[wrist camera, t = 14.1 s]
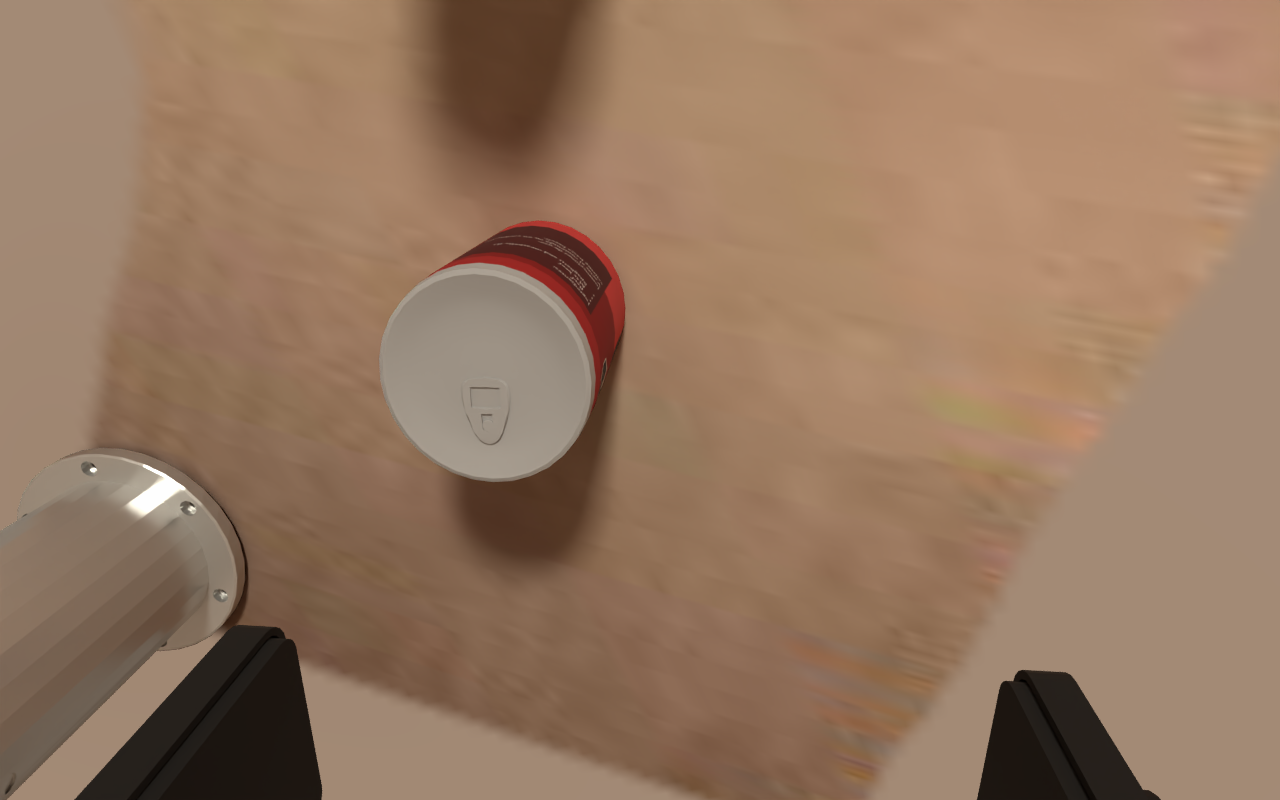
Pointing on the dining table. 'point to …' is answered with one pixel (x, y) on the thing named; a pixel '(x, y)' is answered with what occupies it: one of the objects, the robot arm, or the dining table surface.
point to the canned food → (504, 351)
